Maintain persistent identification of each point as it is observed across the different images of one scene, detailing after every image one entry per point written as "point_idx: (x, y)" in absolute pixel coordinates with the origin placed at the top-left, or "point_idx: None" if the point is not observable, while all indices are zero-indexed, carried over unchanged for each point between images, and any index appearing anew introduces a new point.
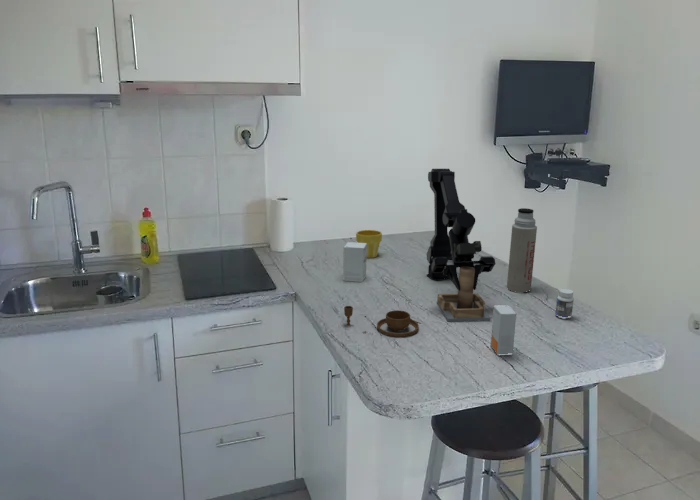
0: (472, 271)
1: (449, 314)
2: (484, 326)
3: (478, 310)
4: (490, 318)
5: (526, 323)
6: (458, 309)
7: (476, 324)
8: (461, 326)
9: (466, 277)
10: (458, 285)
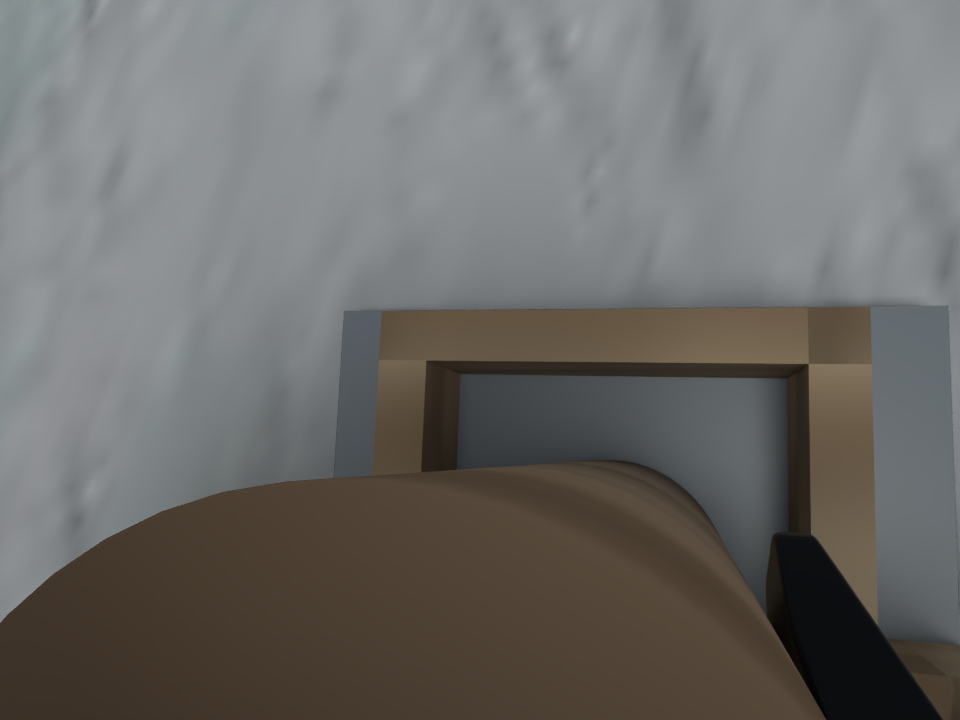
0: (158, 522)
1: (879, 468)
2: (481, 167)
3: (468, 315)
4: (351, 311)
5: (46, 238)
6: (789, 330)
7: (555, 225)
8: (765, 168)
9: (584, 489)
10: (830, 609)
